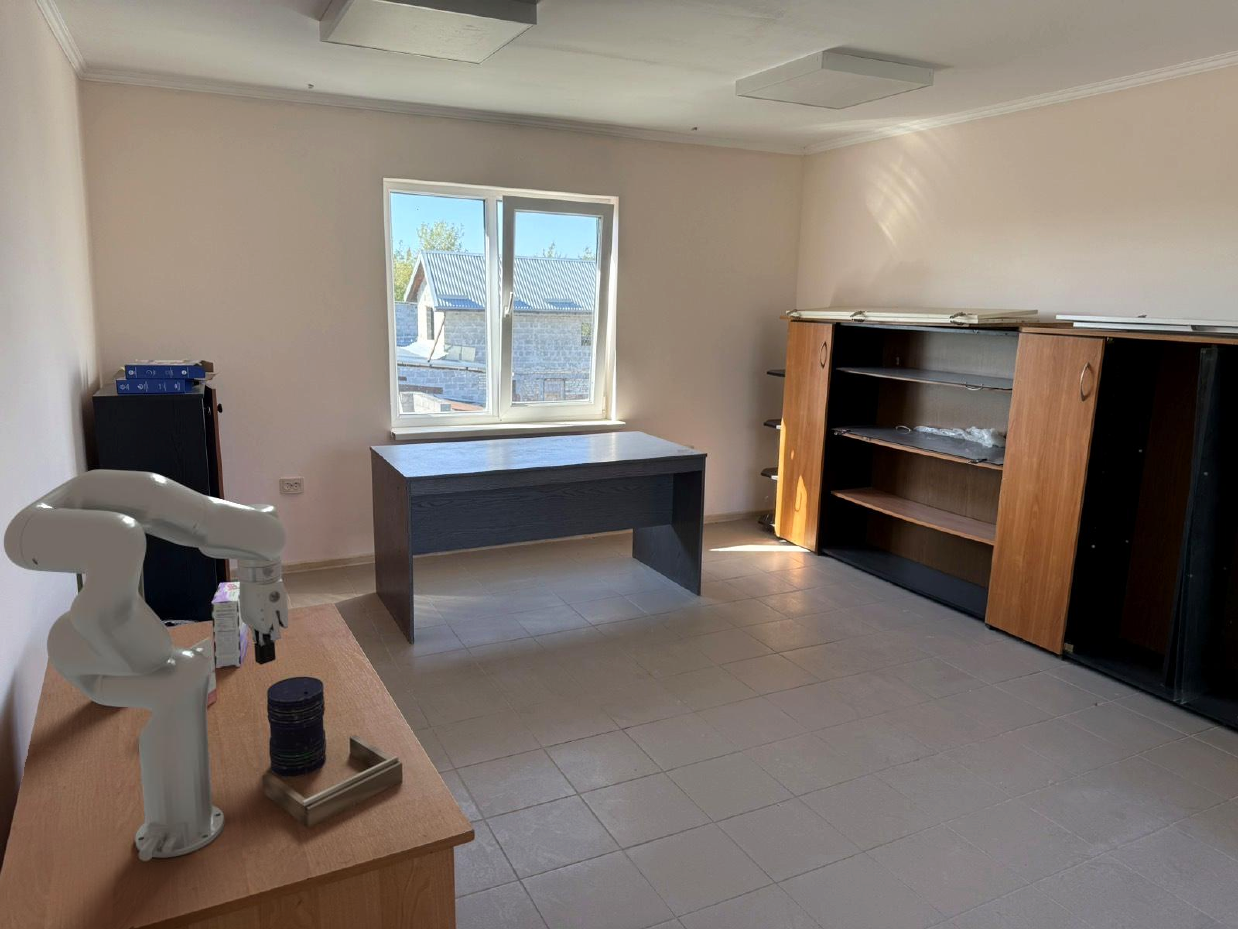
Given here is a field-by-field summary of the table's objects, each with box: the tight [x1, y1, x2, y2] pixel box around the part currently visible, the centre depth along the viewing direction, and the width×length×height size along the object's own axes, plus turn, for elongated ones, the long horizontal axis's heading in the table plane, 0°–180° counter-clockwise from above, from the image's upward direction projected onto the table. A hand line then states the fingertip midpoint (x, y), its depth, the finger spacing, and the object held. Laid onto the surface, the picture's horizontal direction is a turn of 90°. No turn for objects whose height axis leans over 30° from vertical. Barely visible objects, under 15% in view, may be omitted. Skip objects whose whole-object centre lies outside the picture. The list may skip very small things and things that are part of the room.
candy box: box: [210, 581, 249, 669], centre depth 195 cm, size 14×6×16 cm, turn 17°
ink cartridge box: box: [190, 636, 218, 708], centre depth 170 cm, size 9×5×15 cm, turn 168°
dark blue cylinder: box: [266, 676, 327, 778], centre depth 151 cm, size 10×10×15 cm
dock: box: [262, 734, 403, 829], centre depth 145 cm, size 15×18×4 cm
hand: (265, 661), depth 157 cm, fingers closed
